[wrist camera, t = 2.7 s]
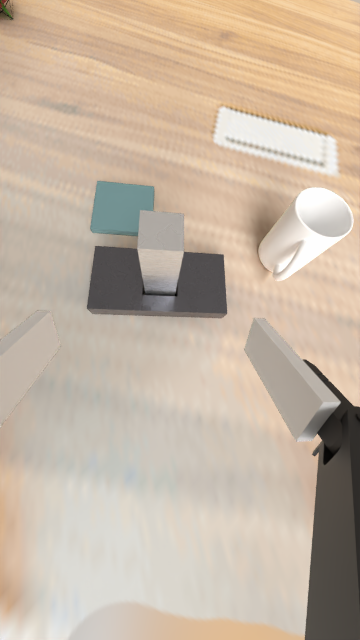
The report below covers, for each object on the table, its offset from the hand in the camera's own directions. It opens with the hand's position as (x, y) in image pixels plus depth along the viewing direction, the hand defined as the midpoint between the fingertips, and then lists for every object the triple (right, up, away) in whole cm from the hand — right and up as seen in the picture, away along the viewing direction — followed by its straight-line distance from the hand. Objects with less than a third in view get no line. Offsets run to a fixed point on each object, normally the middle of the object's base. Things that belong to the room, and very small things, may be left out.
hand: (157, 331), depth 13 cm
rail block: (-2, +6, +18) cm, 19 cm away
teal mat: (-8, +20, +21) cm, 31 cm away
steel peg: (-2, +6, +18) cm, 19 cm away
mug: (+19, +11, +22) cm, 31 cm away
